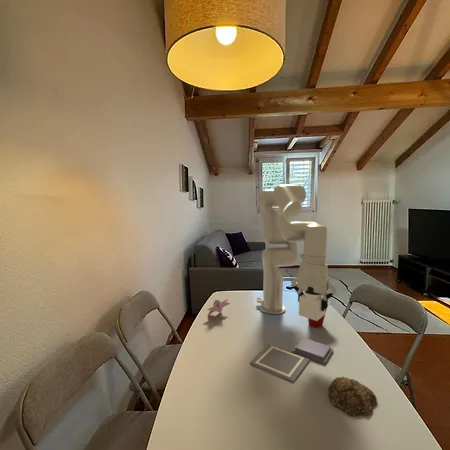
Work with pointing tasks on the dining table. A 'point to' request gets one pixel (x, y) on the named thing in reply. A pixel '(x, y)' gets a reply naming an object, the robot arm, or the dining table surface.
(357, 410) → the bread roll
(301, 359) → the marked mat
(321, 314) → the medicine bottle
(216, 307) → the lily
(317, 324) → the plastic cup
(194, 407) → the dining table surface
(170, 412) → the dining table surface
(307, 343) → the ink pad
